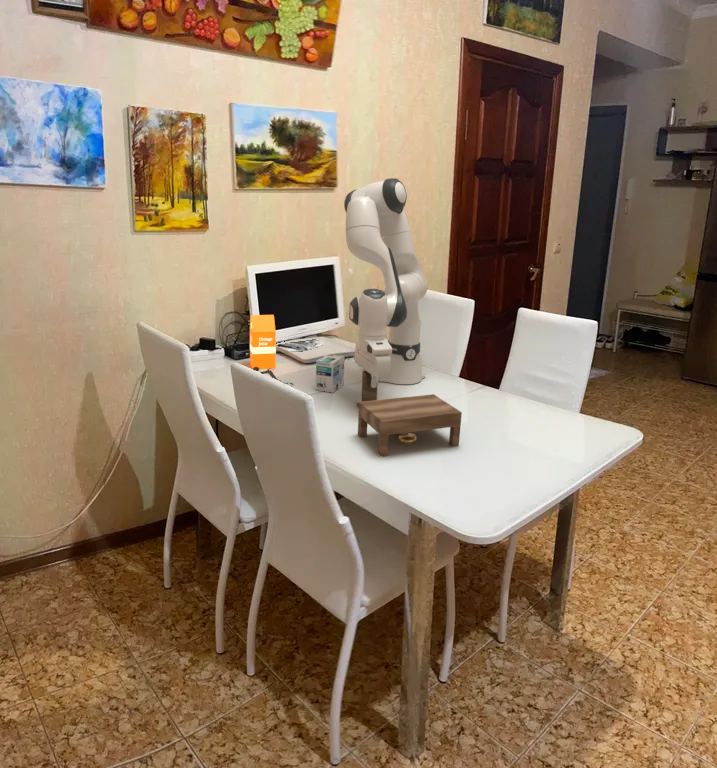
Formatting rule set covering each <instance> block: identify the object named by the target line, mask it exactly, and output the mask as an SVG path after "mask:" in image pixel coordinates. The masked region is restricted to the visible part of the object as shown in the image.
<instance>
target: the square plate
mask: <svg viewBox="0 0 717 768" xmlns="http://www.w3.org/2000/svg"><path fill="white" fill-rule="evenodd" d="M312 339H316V340H321V341H323V342H324V344H323V346H320V347H318V348H314V349H312V350H308V351H303V352H291V351H288V350H286V349H284V348H281V347H278V346H276V351H279V352H281V353H283V354H284V355H287V356H289V357H290V358H293V359H294V360H297V361H299V362H300V363H301V362H302V363H304V364H310V363H311V364H312V363H316V361H317V360H319V359H321V358H322V357H324V356H326V355H327V354H332V355H338V356H344V357H345V358H347V357H353V356H355V347H352V346H351V345H348V344H346V343H343V342H340V341H338V340H336V339H332V338H330V337H327V336H317V337H315V336H314V337H305V338H298V339H289V340H285V342H284V341H280V342H281V343H278V342H276V343H277V344H276V345H278V344H285V343H290V342H298V341H306V340H312Z"/></svg>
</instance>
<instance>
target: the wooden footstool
mask: <svg viewBox="0 0 717 768" xmlns="http://www.w3.org/2000/svg"><path fill="white" fill-rule="evenodd" d="M358 403H359V407H358V416H357V417H358V421H357V422H358V423H357V436H358V437H359V438H363V437H362V436H367V437H368V426H370V427H371V428H372V429H373V430H374V431H376V432H377V433H378V436H377V453H378V454H379V455H380V456H382V457H387V456H388V453H389V452H388V450H389V449H388V447H389V436H390V435H391V436H392V435H400V434H402V433H415V432H422V431H430V430H439V429H446V428H449V439H448V440H449V441H448V445H450V446H451V447H453V448H454V447H459V446H460V438H461V437H460V436H461V424H462V414H463V412H462V411H460V410H459V409H457V408H456V407H455V406H453V405H451V404H450V403H448V402H446V401H445V400H443V399H442V398H440V397H439V396H437V395H436V394H434V393H433V394H426V395H425V394H423V395H414V396H404V397H394V398H385V399H383V398H382V399H377V400H373V401H363V402H362V401H358ZM377 453H376V454H377ZM378 454H377V455H378ZM379 455H378V456H379ZM380 456H379V457H380Z"/></svg>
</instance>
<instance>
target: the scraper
mask: <svg viewBox="0 0 717 768" xmlns="http://www.w3.org/2000/svg"><path fill="white" fill-rule="evenodd" d="M361 377H362V379H361V402H363V401H373V400H378V386H377V387H376V388H372V387H371V386H370V381H371V380H372V377H371V374H370V373H368V372H367V371H362V375H361ZM378 382H379V381H377V383H378ZM356 406H357V407H358V408H359V402H356Z"/></svg>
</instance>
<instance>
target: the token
mask: <svg viewBox="0 0 717 768" xmlns="http://www.w3.org/2000/svg"><path fill="white" fill-rule="evenodd" d="M398 442H400V443H401V442H402V444H404V445H405V444H406V445H411V444H415V443H416V442H417V435H416V434H414V433H412V432H408V433H400V434H398Z"/></svg>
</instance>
